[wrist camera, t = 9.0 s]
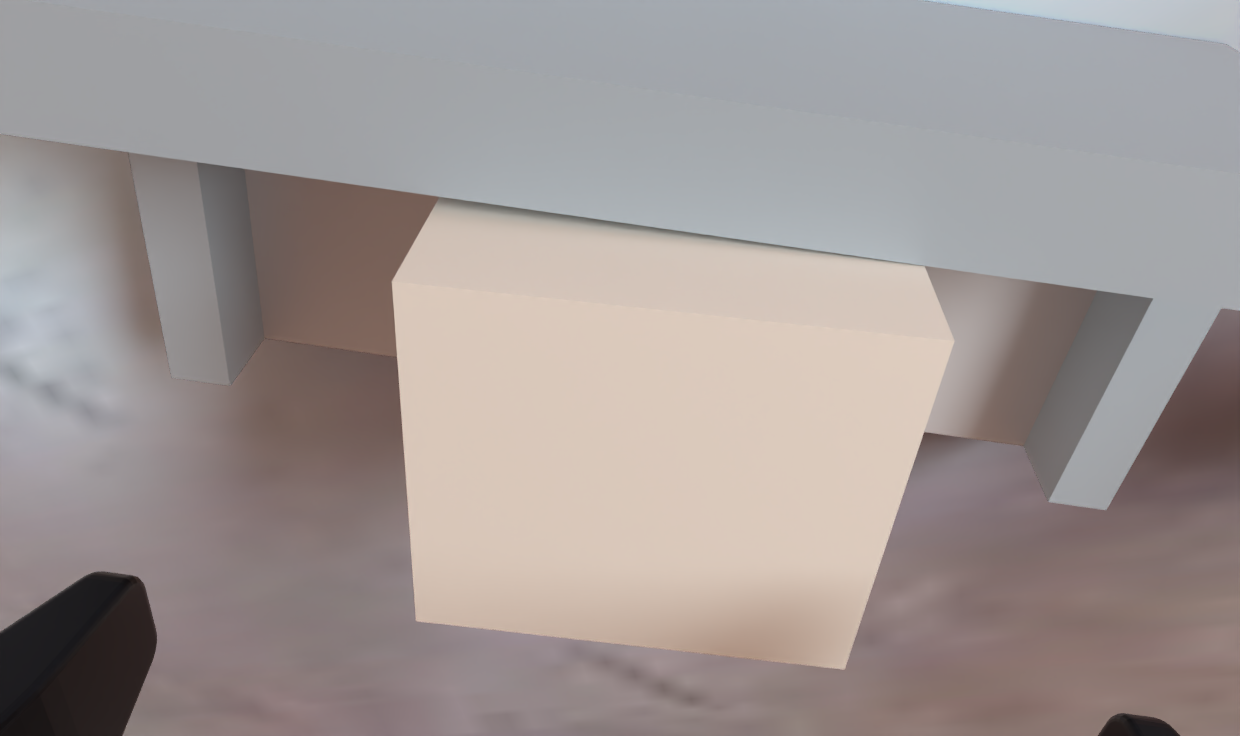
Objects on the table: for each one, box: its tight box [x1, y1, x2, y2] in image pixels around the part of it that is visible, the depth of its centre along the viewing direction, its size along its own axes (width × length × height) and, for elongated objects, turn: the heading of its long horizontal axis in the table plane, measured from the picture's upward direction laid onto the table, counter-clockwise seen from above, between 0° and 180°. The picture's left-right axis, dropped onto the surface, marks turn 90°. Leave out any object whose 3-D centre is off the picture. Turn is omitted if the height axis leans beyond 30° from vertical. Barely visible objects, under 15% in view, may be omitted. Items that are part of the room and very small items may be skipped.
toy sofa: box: [0, 0, 1240, 510], centre depth 14 cm, size 7×16×6 cm, turn 83°
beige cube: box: [392, 197, 954, 669], centre depth 13 cm, size 6×6×6 cm
